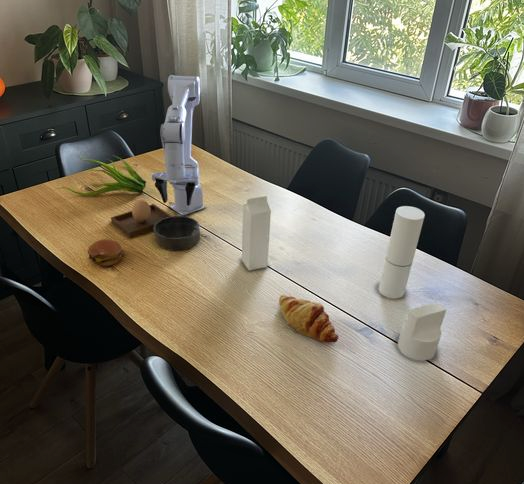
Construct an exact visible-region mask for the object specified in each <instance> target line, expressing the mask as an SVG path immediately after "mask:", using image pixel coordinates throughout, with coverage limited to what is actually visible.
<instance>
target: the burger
mask: <svg viewBox="0 0 524 484" xmlns="http://www.w3.org/2000/svg"><path fill="white" fill-rule="evenodd" d="M87 254H88V259H89V260H91V263H93V264H94V265H100V266H102V267H109V266H113V265H115V264H117V263H118V262H120V261H121V258H122V257H123V255H124V249H123V248H122V245H121V244H120V243H119V242H118V241H116V240H112V239H108V238H107V239H105V238H103V239H99V240H96V241H94V242H93V243H91V244H90V246H89V247H88V249H87Z"/></svg>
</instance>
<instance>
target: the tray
mask: <svg viewBox="0 0 524 484" xmlns="http://www.w3.org/2000/svg"><path fill="white" fill-rule="evenodd" d="M148 205H149V206H150V209H151V216H150V218H149V219H148V220H147V221H146V222H138V221H137V220H136V219H135V218H134V217H133V214H132V210H130V211H127V212H123V213H121V214H117V215H114V216H111V217H110V220H111V221H110V222H111V224H112V225H113V226H115V227H116V228H117V229H118V230H120V232H122V233H123V235H125V236H127V237H128V238H129V239H132V238H135V237H138V236H141V235H143V234H146V233H148V232H149V233H150V232H152V231H154V230H153V228H154V225H155V224H156V222H157V221H159V220H161V219H163V218H166V217H171V216H172V215H170V214H169V213H167V212H166V211H165V210H163V209H162V208H160V207H159V206H158V205H157V204H154V203H152V204H148Z"/></svg>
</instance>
